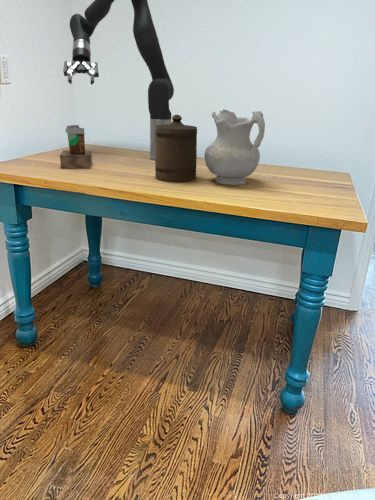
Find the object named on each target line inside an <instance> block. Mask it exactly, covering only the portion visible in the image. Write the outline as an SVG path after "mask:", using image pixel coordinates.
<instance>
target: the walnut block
mask: <svg viewBox="0 0 375 500" xmlns="http://www.w3.org/2000/svg"><path fill="white" fill-rule="evenodd" d="M92 156H93V155H92V150H89V149H87V150H86V149H85V154H83V155H81V154H71V153H70V149H65V150H62V152H61V153H60V155H59V159H60V160H59V161H60V169H61V170H63V169H66V170H68V169H69V170H70V169H73V170H77V169H78V170H79V169H81V170H82V169H83V170H84V169H85V170H86V169H87V170H88V169H89V170H90V169H91V167H92V163H93V158H92Z"/></svg>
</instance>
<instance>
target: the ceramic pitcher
mask: <svg viewBox="0 0 375 500" xmlns="http://www.w3.org/2000/svg"><path fill="white" fill-rule="evenodd" d="M251 113H252V117H251V118H250V120H249V118H248V117H241V116H240V117H238V116H236V113H235V111H230V110H228V109H222V110H219V113H218V114H217V113H216V111H212V113H211V117H212V118H213V121H214V123H215V125H216V133H217V135H216V138H215V139H214V141H213V142H212V143H210V144H209V145H208V146H207V147H206V148H205V150H204V162H205V166H206V167H207V169H208V171H209V172H210V173H211V174H213V175H215V176H216V177H215V179H214V182H215V183H218V184H220V185H228V186H229V185H233V186H234V185H235V186H242V185H246V184H248V182H247V180H246V177H249V176H251V175H252V174H253V173H254V172H255V171H256V170H257V167H258V166H259V162H260V157H261V154H260V150H259V147H260V146H261V144H262V141H263V139H264V137H265V136H264V135H265V129H266V121H265V118H264V114H263V112H262V111H252V112H251ZM254 124H257V125H258V126H257V127H258V133H257V136H256V138H255V140H254V141H253V143H252V141H251V139H250V136H251V131H252V128H253V126H254Z"/></svg>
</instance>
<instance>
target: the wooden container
mask: <svg viewBox="0 0 375 500" xmlns="http://www.w3.org/2000/svg"><path fill="white" fill-rule="evenodd" d="M182 120H183V117H182V116H181V115H180V114H174V115H171V123H170V124H167V125H157V126H156V149H155V160H154V161H155V162H154V165H155V167H154V168H155V169H154V170H155V172H154V173H155V176H154V177H155V178H156V180H159V181H163V182H168V183H169V182H170V183H185V182H191V181H195V180H196V179H197V153H198V152H197V150H198V149H197V144H198V143H197V142H198V140H197V139H198V138H197V137H198V127H197V126H194V125H189V124H187V125H186V124H184V123H182Z"/></svg>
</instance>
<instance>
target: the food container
mask: <svg viewBox="0 0 375 500" xmlns="http://www.w3.org/2000/svg"><path fill="white" fill-rule="evenodd" d="M65 133H66V134H67V140H68V141H67V142H68V147H69V150H70V153H71V154H81V155H83V154H85V150H86V146H85V145H86V144H85V128H84V127H80V125H79V124H71V125H70V124H69V125H67V126H66V127H65Z"/></svg>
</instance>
